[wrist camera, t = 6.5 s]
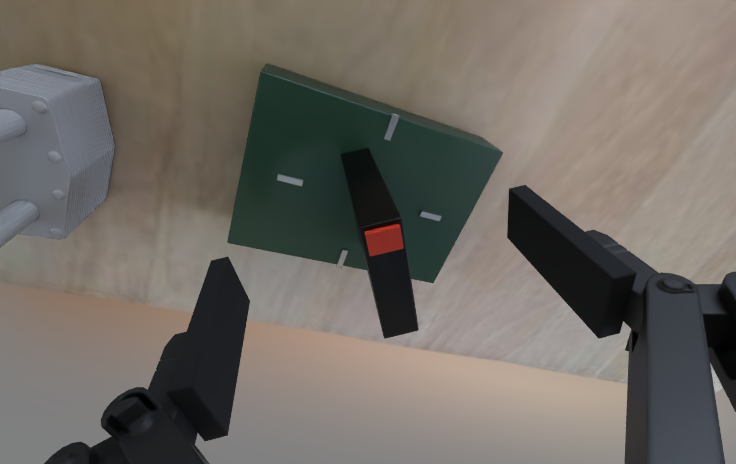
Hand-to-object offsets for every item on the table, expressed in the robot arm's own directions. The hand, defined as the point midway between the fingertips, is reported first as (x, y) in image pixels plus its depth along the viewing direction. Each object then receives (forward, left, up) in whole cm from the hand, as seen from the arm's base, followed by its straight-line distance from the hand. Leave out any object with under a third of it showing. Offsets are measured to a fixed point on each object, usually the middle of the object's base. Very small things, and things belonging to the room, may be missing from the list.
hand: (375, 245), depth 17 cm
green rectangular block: (0, 0, -8) cm, 8 cm away
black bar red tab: (0, 0, -5) cm, 5 cm away
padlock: (-16, -2, -9) cm, 18 cm away
